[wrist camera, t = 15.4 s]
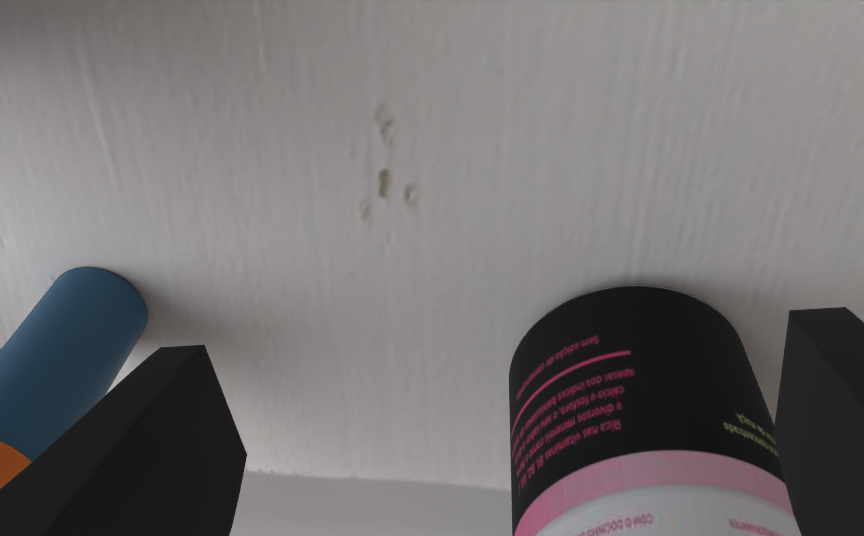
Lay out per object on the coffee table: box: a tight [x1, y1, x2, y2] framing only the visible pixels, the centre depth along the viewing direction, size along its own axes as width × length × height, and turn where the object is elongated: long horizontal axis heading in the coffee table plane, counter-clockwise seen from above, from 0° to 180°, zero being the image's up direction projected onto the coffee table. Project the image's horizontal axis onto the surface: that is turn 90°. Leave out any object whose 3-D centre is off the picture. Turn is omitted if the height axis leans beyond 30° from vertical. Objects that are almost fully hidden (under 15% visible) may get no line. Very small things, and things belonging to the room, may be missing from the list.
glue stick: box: [0, 267, 147, 489], centre depth 20 cm, size 3×3×8 cm
